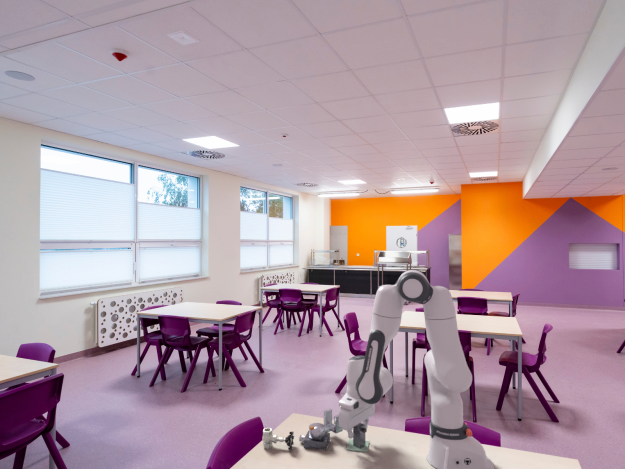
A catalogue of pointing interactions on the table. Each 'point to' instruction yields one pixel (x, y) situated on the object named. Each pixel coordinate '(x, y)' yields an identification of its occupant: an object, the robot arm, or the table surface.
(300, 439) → the block
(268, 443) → the valve
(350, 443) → the felt pad
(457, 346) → the robot arm
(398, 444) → the table surface
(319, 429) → the silver rounded housing
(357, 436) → the grey tabbed block
